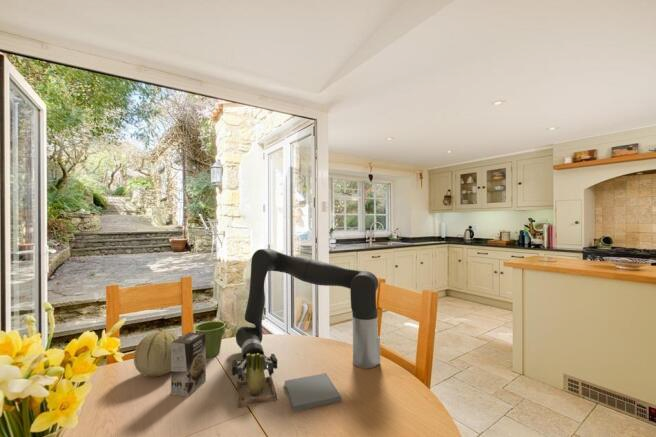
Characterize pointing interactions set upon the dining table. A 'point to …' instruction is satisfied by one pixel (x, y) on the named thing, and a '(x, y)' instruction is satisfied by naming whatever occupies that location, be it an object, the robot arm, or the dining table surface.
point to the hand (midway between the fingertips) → (256, 375)
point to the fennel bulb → (255, 374)
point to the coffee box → (188, 363)
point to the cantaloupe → (154, 354)
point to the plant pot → (211, 336)
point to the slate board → (311, 391)
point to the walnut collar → (259, 399)
